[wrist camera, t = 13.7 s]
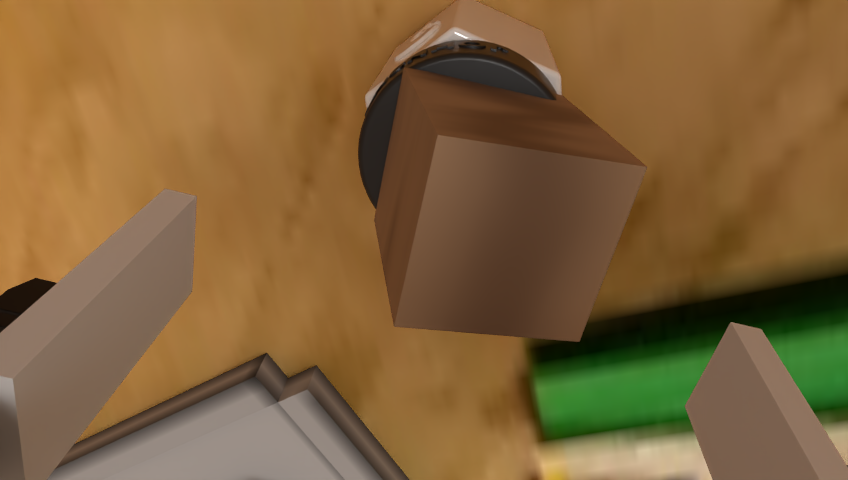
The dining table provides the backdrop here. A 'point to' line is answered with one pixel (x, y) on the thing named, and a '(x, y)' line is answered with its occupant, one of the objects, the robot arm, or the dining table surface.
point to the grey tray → (238, 434)
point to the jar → (456, 70)
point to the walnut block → (498, 209)
